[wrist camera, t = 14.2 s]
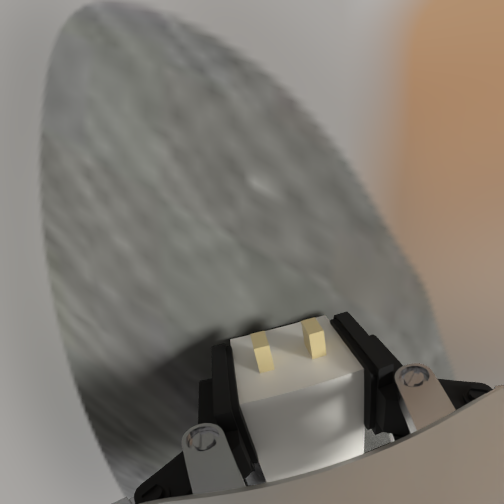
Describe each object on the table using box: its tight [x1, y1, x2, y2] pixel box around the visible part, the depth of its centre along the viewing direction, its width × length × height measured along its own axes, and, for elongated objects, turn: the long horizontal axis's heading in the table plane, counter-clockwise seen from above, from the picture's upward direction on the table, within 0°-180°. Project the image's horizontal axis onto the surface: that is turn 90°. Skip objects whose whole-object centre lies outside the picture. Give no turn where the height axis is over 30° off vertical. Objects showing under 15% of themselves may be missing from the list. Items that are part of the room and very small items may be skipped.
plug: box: [230, 315, 365, 482], centre depth 12 cm, size 12×4×4 cm, turn 12°
